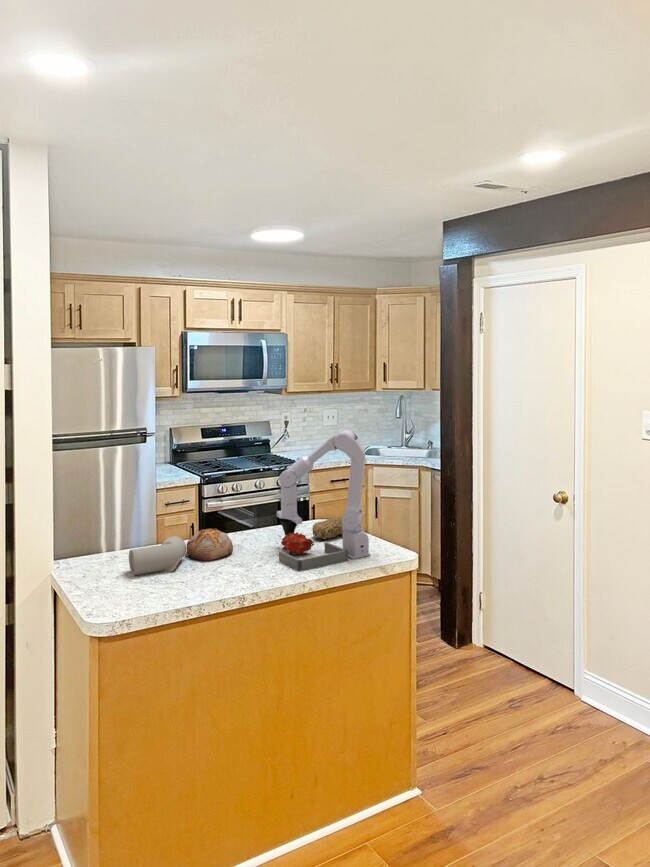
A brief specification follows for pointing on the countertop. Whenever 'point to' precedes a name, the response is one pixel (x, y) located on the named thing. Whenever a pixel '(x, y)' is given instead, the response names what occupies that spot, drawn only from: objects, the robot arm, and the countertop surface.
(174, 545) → the l-shaped cylinder
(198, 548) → the bread
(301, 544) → the dragon fruit
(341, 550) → the box
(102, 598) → the countertop surface
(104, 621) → the countertop surface
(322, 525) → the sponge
